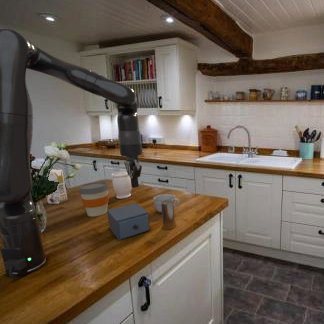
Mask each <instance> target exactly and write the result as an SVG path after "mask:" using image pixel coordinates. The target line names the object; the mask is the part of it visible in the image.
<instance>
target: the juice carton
mask: <svg viewBox="0 0 324 324" xmlns="http://www.w3.org/2000/svg"><path fill="white" fill-rule="evenodd" d="M51 169H52V170H51ZM51 169H50V170H51V171H50V174H49V177H48V180H49V181H54V182H59V184H58V186H57V190H56V191H55V192H53V193H52V194H50V195H48V196H47V195H46V201H47V203H48V204H53V205H60V204H61V203H64V202H67V201H68V194H67V189H66V182H65V177H64V172H63V171H64V169H55V168H51Z"/></svg>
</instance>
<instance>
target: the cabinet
mask: <svg viewBox="0 0 324 324" xmlns="http://www.w3.org/2000/svg"><path fill="white" fill-rule="evenodd" d="M142 215H148V222H149V223H150V217H149V212H148V211H147V210H146V209H145V208H143V207H142V205H139V204H138V203H137V202H136V203H131V204H127V205H123V206H120V207H115V208H111V209H107V221H108V228H109V229H110V231H111V232H112V233H113V235H114V237H116V238H117V239H118V241H121V240H123V239H127V238H130V237H134V236H136V235H139V234H142V233H146V232H148V231H150V230H151V227H150V226H149V230H147V231H144V232H141V233H137V234H134V235H131V236H128V237H125V238H122V239H121V238H120V232H119V224H118V222H120V221H124V220H127V219H131V218H135V217H138V216H142Z"/></svg>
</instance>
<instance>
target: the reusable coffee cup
mask: <svg viewBox="0 0 324 324" xmlns="http://www.w3.org/2000/svg"><path fill="white" fill-rule="evenodd" d="M78 189H79V195H80V196H81V197H80V199H81V203H82V205H83V208H84V209H85V212H86V215H87V216H88V217H99V216H102V215H105V214H106V213H107V210H108V205H109V204H108V203H109V199H110V197H109V184H108V182H105V181H93V182H89V183H84V184H81V185H80V186H79V188H78ZM107 214H108V213H107Z"/></svg>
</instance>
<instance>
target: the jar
mask: <svg viewBox="0 0 324 324" xmlns="http://www.w3.org/2000/svg"><path fill="white" fill-rule="evenodd" d="M111 177H112V181H111V182H112V188H113V190H114V191H113V192H114V193H115V194H116V195H115V197H116V199H119V200H120V199H121V200H122V199H127V198H129V197H132V193H131V192H132V186H131V178H130V177H129V175H128V173H127V170H122V171H116V172H112V173H111Z"/></svg>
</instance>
